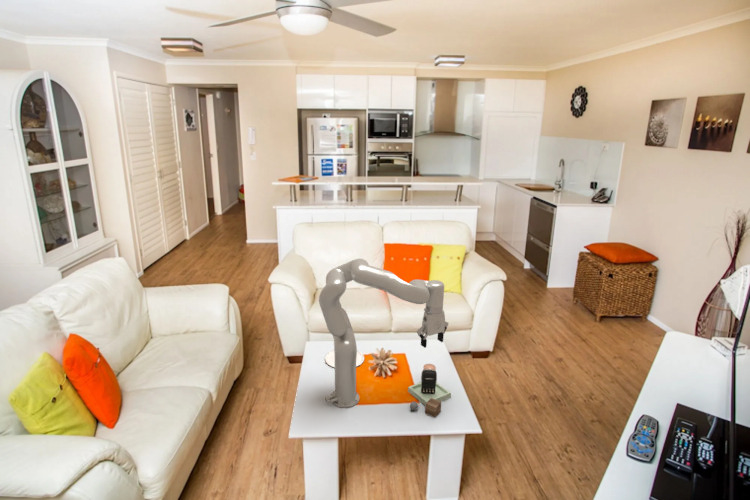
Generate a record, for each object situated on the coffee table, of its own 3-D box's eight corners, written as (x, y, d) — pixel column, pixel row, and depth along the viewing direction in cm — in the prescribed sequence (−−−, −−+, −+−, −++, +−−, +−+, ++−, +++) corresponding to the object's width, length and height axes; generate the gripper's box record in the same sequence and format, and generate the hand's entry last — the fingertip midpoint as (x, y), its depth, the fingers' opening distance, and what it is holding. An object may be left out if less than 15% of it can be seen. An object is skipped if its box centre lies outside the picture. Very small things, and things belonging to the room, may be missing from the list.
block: (435, 417, 190) (435, 407, 188) (425, 413, 193) (425, 403, 191) (440, 411, 194) (441, 402, 192) (430, 407, 196) (431, 397, 195)
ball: (412, 413, 192) (413, 406, 191) (407, 408, 195) (408, 401, 194) (419, 410, 194) (419, 403, 193) (414, 406, 197) (414, 399, 196)
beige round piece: (428, 382, 215) (428, 371, 214) (420, 376, 220) (421, 365, 218) (437, 378, 218) (438, 368, 217) (429, 373, 223) (430, 362, 222)
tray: (427, 407, 196) (427, 402, 196) (408, 391, 208) (408, 386, 207) (450, 397, 204) (451, 392, 203) (431, 382, 215) (431, 378, 214)
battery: (420, 394, 204) (422, 372, 200) (420, 389, 207) (421, 368, 204) (436, 395, 203) (437, 373, 200) (435, 390, 207) (436, 369, 204)
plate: (317, 365, 229) (317, 363, 229) (336, 347, 248) (336, 345, 247) (354, 374, 222) (354, 372, 221) (370, 354, 240) (370, 352, 240)
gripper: (424, 315, 186) (422, 352, 191) (454, 307, 195) (452, 342, 200) (413, 309, 192) (411, 344, 197) (443, 301, 201) (441, 335, 206)
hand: (431, 343), depth 198 cm, fingers open, 9 cm apart
